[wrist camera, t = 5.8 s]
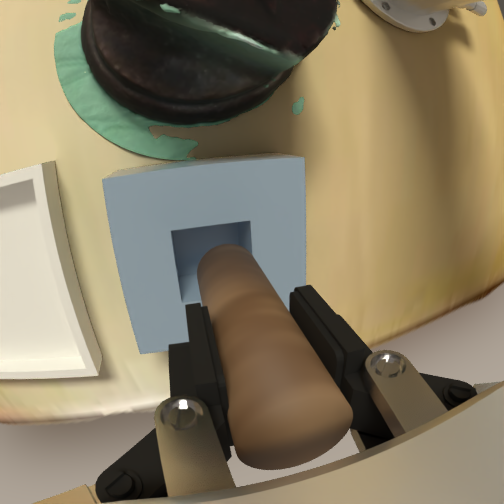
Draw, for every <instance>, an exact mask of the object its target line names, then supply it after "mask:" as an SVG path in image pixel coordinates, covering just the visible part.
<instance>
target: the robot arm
mask: <svg viewBox="0 0 504 504" xmlns="http://www.w3.org/2000/svg"><path fill="white" fill-rule="evenodd" d="M362 1H363V2H364V3H365V4H366V5H367V6H368V7H369V8H370V9H371V10H372V11H373V12H374V13H376V14H377V15H379V16H380V17H381V18H383V19H384V20H385V21H387V22H389V23H391V24H392V25H394V26H396V27H398V28H401V29H404V30H406V31H411V32H415V33H421V32H428V31H432V30H435V29H437V28H439V27H441V26H442V25H443V24H444V22H445V21H446V19H447V17H448V13H449V9H451V8H454V7H458V8H466V9H467V10H469V11H470V12H472V13H474V14H476V15H478V16H484V15H485V14H486V11H487V7H486V5H485V3H484V2H482V1H483V0H362ZM185 310H186V319H187V328H188V337H189V342H183V343H176V344H169V345H168V351H169V376H170V395H171V397H170V398H168V399H166V400H165V401H163V402H162V403H161V404H160V405H159V406H158V407H157V409H156V411H155V416H154V420H155V427H156V428H154V429H153V430H152V431H151V432H150V433H149V434H148V435H146V436H145V437H144V438H143V439H142V440H141V441H139V442H138V443H137V444H136V445H135V446H134V447H132V448H131V449H130V450H129V451H128V452H126V453H125V454H124V455H123V456H122V457H121V458H119V459H118V460H117V461H116V462H115V463H113V464H112V465H111V466H110V467H108V468H107V469H106V470H105V471H103V473H102V474H101V475H100V476H99V477H98V479H97V481H96V484H94V485H92V486H89V487H87V485H86V484H85V485H82V486H80V487H77V488H75V489H72V490H69V491H67V492H64V493H61V494H59V495H56V496H53V497H50V498H47V499H44V500H42V501H39V502H35V503H33V504H504V381H502V382H494V383H484V384H474V386H473V387H472V386H471V385H470V384H468V383H466V382H463V381H460V380H454V379H449V378H443V377H438V376H433V375H428V374H423V373H418V371H417V370H416V369H415V368H414V366H413V365H412V364H411V362H410V361H409V360H408V359H407V358H406V357H405V356H404V355H402V354H400V353H398V352H394V351H391V350H382V351H377V352H374V353H372V351H371V350H370V349H369V348H368V347H367V345H366V344H365V343H364V342H363V341H362V340H361V338H360V337H359V336H358V335H357V334H356V333H355V332H354V330H353V329H352V328H351V327H350V326H349V325H348V324H347V322H346V321H345V320H344V319H343V318H342V317H341V316H340V315H337V314H336V313H335V312H334V311H333V310H332V309H331V308H330V306H329V305H328V304H327V303H326V302H325V301H324V300H323V298H322V297H321V296H320V295H319V294H318V293H317V292H316V290H315V289H314V288H313V287H312V286H311V285H306V286H300V287H295V288H294V292H290V295H289V312H290V314H291V315H292V317H293V318H294V320H295V321H296V323H297V325H298V326H299V328H300V329H301V331H302V332H303V334H304V335H305V337H306V338H307V340H308V342H309V343H310V345H311V346H312V348H313V349H314V351H315V352H316V354H317V355H318V357H319V358H320V360H321V362H322V363H323V365H324V366H325V368H326V369H327V371H328V372H329V374H330V375H331V377H332V379H333V380H334V382H335V383H336V385H337V386H338V388H339V389H340V391H341V392H342V394H343V395H344V397H345V399H346V400H347V402H348V403H349V405H350V406H351V408H352V411H353V420H352V423H351V426H350V431H351V435H352V437H353V439H354V441H355V443H356V446H357V448H358V450H359V452H360V453H357V454H355V455H352V456H349V457H347V458H344V459H341V460H338V461H335V462H332V463H329V464H326V465H323V466H320V467H317V468H313V469H310V470H307V471H303V472H300V473H296V474H293V475H289V476H285V477H282V478H277V479H273V480H269V481H265V482H260V483H256V484H251V485H246V486H241V487H236V486H235V483H234V481H233V478H232V475H231V473H230V470H229V467H228V465H227V461H228V460H229V459H230V458H231V451H230V446H234V443H233V439H232V435H231V431H230V427H229V423H228V418H227V414H228V409H229V402H228V396H227V389H226V383H225V378H224V374H223V370H222V366H221V362H220V358H219V354H218V350H217V345H216V341H215V337H214V333H213V328H212V324H211V320H210V315H209V311H208V307H207V306H202V307H201V303H193V304H186V305H185Z"/></svg>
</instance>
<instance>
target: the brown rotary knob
mask: <svg viewBox="0 0 504 504" xmlns="http://www.w3.org/2000/svg"><path fill="white" fill-rule="evenodd" d="M79 2H81V0H71V1H69V2H68V3H69V4H73V3H76V4H77V3H79ZM337 5H340V2H339V1H338V0H337V2H336V0H88V2H87V5H86V8H85V11H84V16H83V20H82V21H81V22H80V23H78V24H76V25H73V26H70V27H69V28H67V29H65V30H62V31H60V32H58V33H56V36H55V42H54V56H55V62H56V69H57V74H58V78H59V81H60V83H61V86H62V89H63V91H64V93H65V95H66V97H67V99H68V101H69V103H70V104H71V106H72V107H73V108H74V110H75V111H76V112H77V114H78V115H79V116H80V117H81V118H82V119H83V120H84V121H85V122H86V123H87V124H88V125H89V126H90V127H91V128H92V129H94V130H95V131H96V132H98V133H99V134H100V135H102V136H103V137H105V138H106V139H108V140H109V141H111V142H113V143H115V144H117V145H119V146H121V147H123V148H125V149H127V150H130V151H133V152H135V153H139V154H142V155H146V156H150V157H155V158H161V159H169V160H196V158H195V157H190V158H187V155H188V153H189V152H190V151H191V150H192V149H194V148H195V147H196V146H198V142H196V141H195V140H191V139H185V140H183V139H179V138H178V137H169V136H166V135H164V134H162V135H161V136H160V137H159V138H157V139H155V138H154V137H153V135H152V134H151V132H150V130H149V126H153V125H158V126H164V125H165V126H172V127H184V128H190V127H198V126H211V125H218V124H221V123H224V122H227V121H229V120H230V119H232V118H234V117H237V116H238V115H240V114H242V113H245V112H248V111H250V110H252V109H254V108H257V107H259V106H260V105H262V104H263V103H265V102H266V101H267V100H268V99H269V98H270V97H271V96H272V95H273V93H274V91H275V90H276V89H277V88H278V87H279V86H280V85H282V84H283V83H284V82H285V81H286V79H287V78H289V76H290V74H291V72H292V70H293V67H294V65H296V64H298V63H299V62H300V61H301V60H302V59H304V58H305V57H306V56H308V55H309V54H310V53H311V52H312V51H313V50H314V49H315V48H316V47H317V46H318V45H319V43H320V42H321V41H322V40H323V39H324V37H325V36H326V35H327V34H328V31H329V29H330V28H331V26H332V24H333V22H335V23H336V27H339V26H340V21H339V18H338V16H337V14H336V12H337ZM339 7H340V6H339ZM75 15H76V13H66V14H62V15H61V16H60V19H59V22H60V20H61V19H62V20H61V21H63V20H65V19H71V18H73V17H74V16H75ZM336 27H333V28H332V29H334V30H336V29H335V28H336ZM303 103H304V98H303V97H300V98H299V101H298V102H295V103H294V104H293V106H292V112H293V113H294V114H296V115H298V114H300V112H301V111H302V110H303Z"/></svg>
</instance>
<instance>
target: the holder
mask: <svg viewBox="0 0 504 504" xmlns="http://www.w3.org/2000/svg"><path fill="white" fill-rule="evenodd" d="M102 182H103V189H104V196H105V203H106V209H107V215H108V221H109V227H110V232H111V238H112V243H113V248H114V253H115V258H116V263H117V267H118V272H119V276H120V281H121V285H122V289H123V293H124V297H125V301H126V305H127V309H128V313H129V317H130V320H131V324H132V328H133V331H134V335H135V338H136V342H137V345H138V348H139V352H140V354H147V353H155V352H162V351H168V345H169V344H176V343H183V342H189V337H188V328H187V319H186V310H185V305H186V304H193V303H201V307H202V301H201V296H200V290H199V285H198V280H197V268H198V264H199V262H200V260H201V258H202V257H203V256H204V255H205V253H206V252H208V251H209V250H210V249H212V248H214V247H216V246H218V245H222V244H236V245H240V246H242V247H244V248H246V249H247V250H248V251H249V252H250V253H251V254H252V255H253V257H254V258H255V260H256V261H257V263H258V264H259V266H260V267H261V269H262V271H263V272H264V274H265V275H266V277H267V278H268V280H269V281H270V283H271V284H272V286H273V288H274V289H275V291H276V292H277V294H278V295H279V297H280V298H281V300H282V301H283V303H284V305H285V306H286V308H287V309H288V311H289V295H290V292H294V288H295V287H300V286H306V192H305V157H299V156H293V155H287V154H281V153H266V154H251V155H238V156H226V157H215V158H205V159H196V160H187V161H179V162H171V163H163V164H156V165H148V166H142V167H135V168H129V169H122V170H117V171H115V172H114V173H112V174H110V175H108V176H107V177H105V178H103V179H102Z"/></svg>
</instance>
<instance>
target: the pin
mask: <svg viewBox="0 0 504 504" xmlns="http://www.w3.org/2000/svg"><path fill="white" fill-rule="evenodd" d="M197 280H198V285H199V290H200V296H201V301H202V306H207V307H208V311H209V315H210V320H211V324H212V328H213V333H214V337H215V341H216V345H217V350H218V354H219V358H220V362H221V366H222V370H223V374H224V378H225V383H226V389H227V396H228V402H229V409H228V414H227V418H228V423H229V427H230V431H231V435H232V439H233V443H234V447H235V451H236V454H237V456H238V458H239V459H240V460H241V461H242V462H243V463H244V464H246V465H248V466H250V467H253V468H257V469H263V470H276V469H277V470H278V469H285V468H290V467H294V466H298V465H301V464H303V463H306V462H309V461H311V460H313V459H315V458H317V457H319V456H321V455H322V454H324V453H326V452H327V451H328V450H330V449H331V448H332V447H334V446H335V445H336V444H337V443H338V442H339V441H340V440H341V439H342V438H343V437H344V436H345V434H346V433H347V431H348V430H349V428H350V426H351V423H352V420H353V411H352V408H351V406H350V405H349V403H348V402H347V400H346V399H345V397H344V395H343V394H342V392H341V391H340V389H339V388H338V386H337V385H336V383H335V382H334V380H333V379H332V377H331V375H330V374H329V372H328V371H327V369H326V368H325V366H324V365H323V363H322V362H321V360H320V358H319V357H318V355H317V354H316V352H315V351H314V349H313V348H312V346H311V345H310V343H309V342H308V340H307V338H306V337H305V335H304V334H303V332H302V331H301V329H300V328H299V326H298V325H297V323H296V321H295V320H294V318H293V317H292V315H291V314H290V312H289V311H288V309H287V308H286V306H285V305H284V303H283V301H282V300H281V298H280V297H279V295H278V294H277V292H276V291H275V289H274V288H273V286H272V284H271V283H270V281H269V280H268V278H267V277H266V275H265V274H264V272H263V271H262V269H261V267H260V266H259V264H258V263H257V261H256V260H255V258H254V257H253V255H252V254H251V253H250V252H249V251H248V250H247V249H246V248H244V247H242V246H240V245H236V244H222V245H218V246H216V247H214V248H212V249H210V250H209V251H208V252H206V253H205V255H204V256H203V257H202V258H201V260H200V262H199V264H198V268H197Z"/></svg>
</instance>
